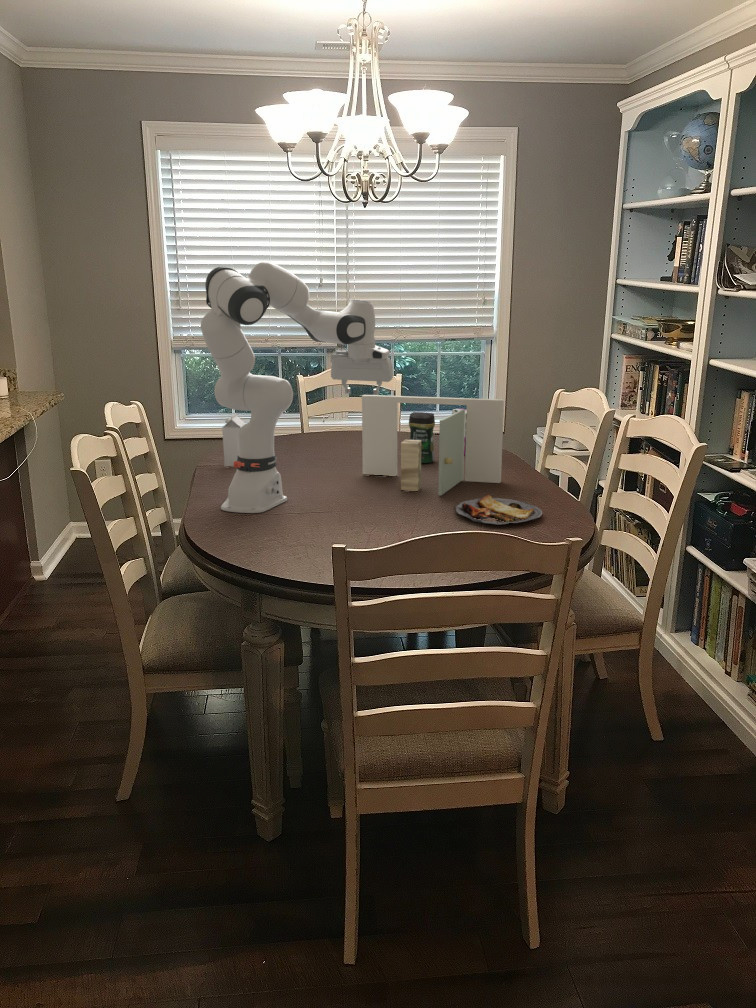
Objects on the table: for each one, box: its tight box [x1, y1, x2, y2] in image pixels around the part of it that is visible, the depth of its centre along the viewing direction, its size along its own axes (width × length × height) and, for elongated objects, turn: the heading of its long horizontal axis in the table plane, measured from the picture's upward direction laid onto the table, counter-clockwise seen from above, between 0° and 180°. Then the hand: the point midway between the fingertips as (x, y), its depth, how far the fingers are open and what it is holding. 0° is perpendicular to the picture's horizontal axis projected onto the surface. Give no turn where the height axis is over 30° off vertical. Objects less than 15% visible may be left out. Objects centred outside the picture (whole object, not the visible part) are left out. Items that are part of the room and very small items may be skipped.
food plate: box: [453, 494, 543, 525], centre depth 236 cm, size 25×23×4 cm
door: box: [437, 408, 466, 496], centre depth 262 cm, size 3×22×24 cm, turn 156°
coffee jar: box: [408, 411, 436, 464], centre depth 300 cm, size 10×8×19 cm
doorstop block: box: [400, 439, 422, 492], centre depth 263 cm, size 6×6×16 cm
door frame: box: [361, 394, 505, 484], centre depth 274 cm, size 2×48×28 cm, turn 76°
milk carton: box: [222, 412, 247, 467], centre depth 295 cm, size 7×7×19 cm
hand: (361, 394), depth 263 cm, fingers open, 8 cm apart
